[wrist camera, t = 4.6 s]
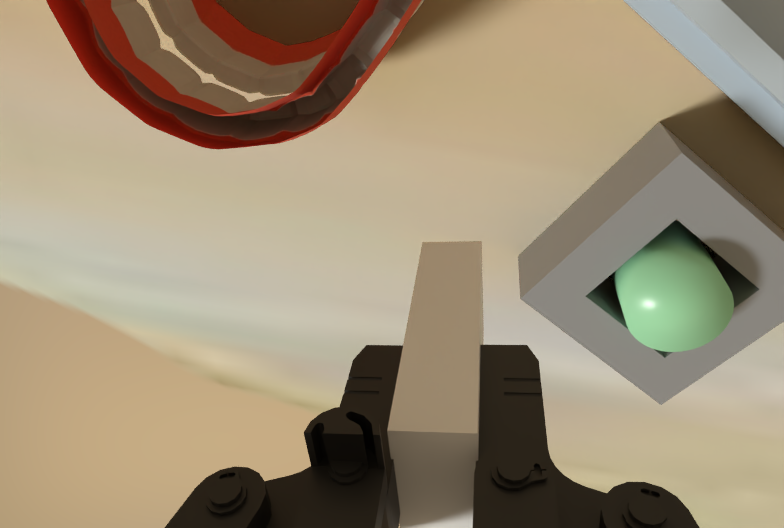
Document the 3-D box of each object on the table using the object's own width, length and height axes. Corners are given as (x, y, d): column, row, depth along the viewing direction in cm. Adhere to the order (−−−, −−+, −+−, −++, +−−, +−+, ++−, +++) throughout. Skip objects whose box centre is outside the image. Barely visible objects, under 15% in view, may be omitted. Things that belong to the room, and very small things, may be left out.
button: (590, 261, 30) (603, 313, 26) (658, 201, 28) (684, 247, 24) (651, 310, 31) (673, 367, 27) (722, 255, 29) (757, 308, 25)
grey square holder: (518, 256, 32) (520, 298, 28) (659, 121, 27) (681, 152, 24) (644, 353, 33) (661, 404, 30) (795, 241, 29) (834, 286, 26)
